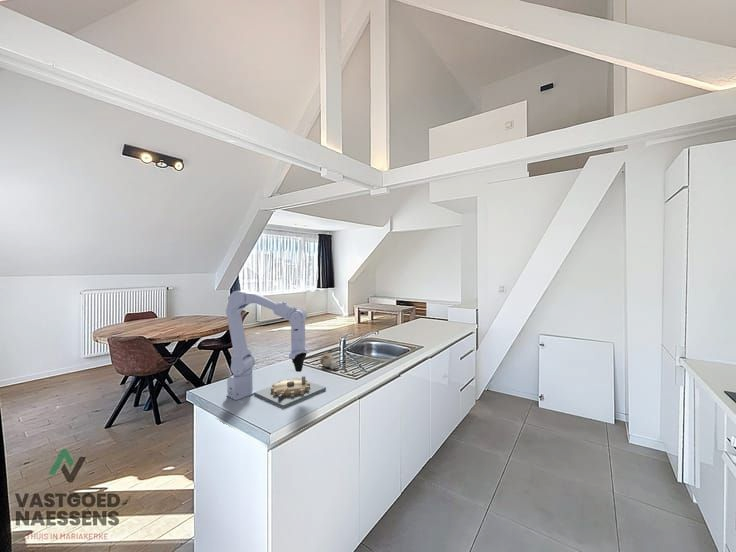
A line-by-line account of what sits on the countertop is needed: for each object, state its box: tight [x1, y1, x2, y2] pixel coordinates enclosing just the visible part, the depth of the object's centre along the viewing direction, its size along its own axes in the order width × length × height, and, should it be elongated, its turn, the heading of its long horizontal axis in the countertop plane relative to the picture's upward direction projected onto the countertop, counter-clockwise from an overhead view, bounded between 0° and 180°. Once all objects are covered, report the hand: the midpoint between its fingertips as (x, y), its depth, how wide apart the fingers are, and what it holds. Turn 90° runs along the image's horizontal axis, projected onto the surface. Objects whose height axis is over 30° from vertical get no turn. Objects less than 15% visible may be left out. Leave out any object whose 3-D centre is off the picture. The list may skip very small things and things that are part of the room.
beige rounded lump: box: [320, 352, 340, 370], centre depth 165 cm, size 8×10×10 cm
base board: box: [253, 377, 327, 409], centre depth 131 cm, size 22×20×3 cm
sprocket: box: [270, 375, 311, 397], centre depth 131 cm, size 16×16×5 cm
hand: (298, 371), depth 128 cm, fingers closed
